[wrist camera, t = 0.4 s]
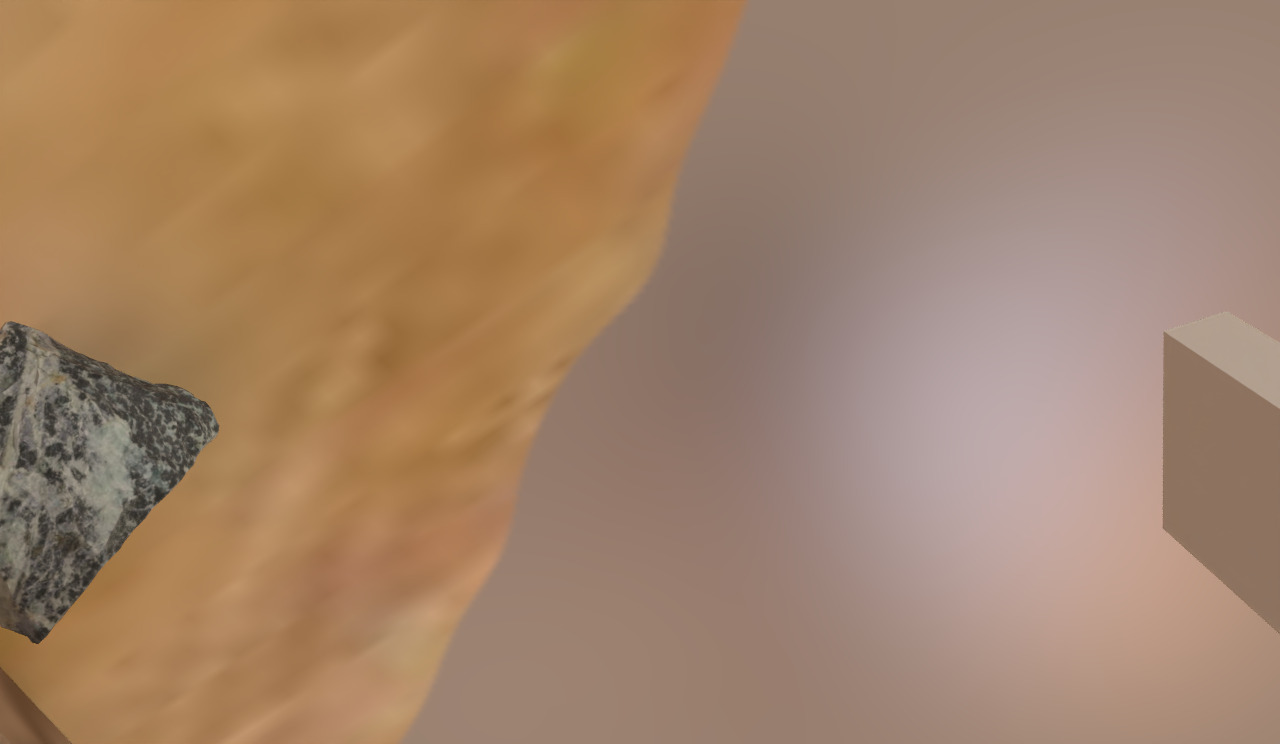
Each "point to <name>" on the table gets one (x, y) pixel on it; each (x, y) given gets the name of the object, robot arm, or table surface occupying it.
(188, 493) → the table surface
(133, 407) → the stone
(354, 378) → the table surface
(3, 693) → the brown wooden frame
